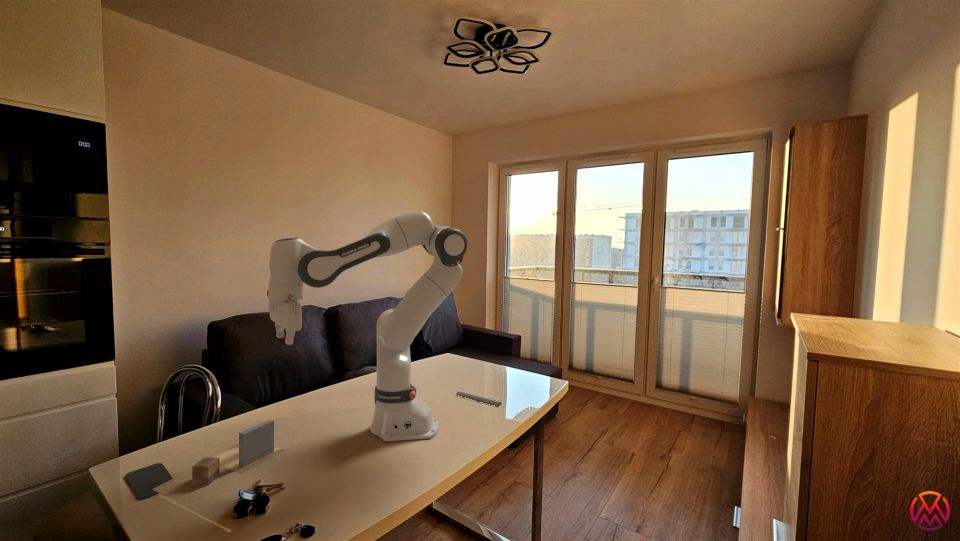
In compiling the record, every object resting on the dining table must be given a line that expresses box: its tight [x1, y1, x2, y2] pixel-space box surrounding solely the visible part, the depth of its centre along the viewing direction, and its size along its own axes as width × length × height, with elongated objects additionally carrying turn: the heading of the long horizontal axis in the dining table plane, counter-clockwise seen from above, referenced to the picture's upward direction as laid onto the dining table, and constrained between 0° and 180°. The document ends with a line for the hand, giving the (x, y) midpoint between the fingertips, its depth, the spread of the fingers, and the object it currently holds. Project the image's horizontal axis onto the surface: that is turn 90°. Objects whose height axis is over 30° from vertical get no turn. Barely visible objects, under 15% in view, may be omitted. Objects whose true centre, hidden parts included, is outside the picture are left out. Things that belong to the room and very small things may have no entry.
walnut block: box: [191, 457, 221, 486], centre depth 95 cm, size 4×4×5 cm
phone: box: [124, 462, 174, 501], centre depth 94 cm, size 7×1×15 cm
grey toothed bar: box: [455, 391, 502, 407], centre depth 153 cm, size 4×20×2 cm, turn 60°
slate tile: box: [238, 419, 275, 467], centre depth 105 cm, size 2×9×9 cm, turn 156°
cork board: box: [207, 443, 286, 475], centre depth 107 cm, size 15×13×1 cm
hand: (284, 340), depth 111 cm, fingers open, 8 cm apart
